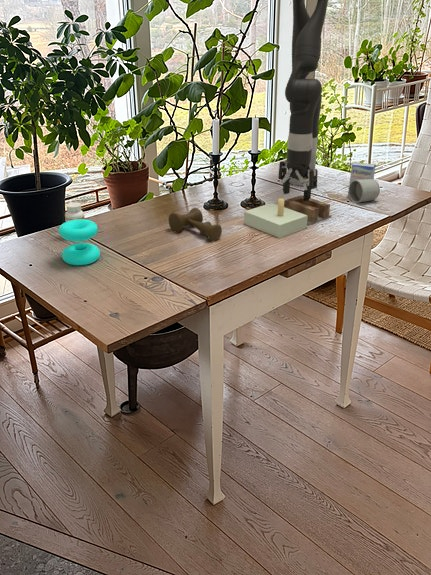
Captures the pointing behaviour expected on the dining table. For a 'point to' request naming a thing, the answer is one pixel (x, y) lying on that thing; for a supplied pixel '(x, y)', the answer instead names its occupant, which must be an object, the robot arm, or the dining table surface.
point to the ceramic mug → (363, 190)
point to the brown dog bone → (195, 224)
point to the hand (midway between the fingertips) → (296, 197)
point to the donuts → (79, 251)
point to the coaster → (318, 220)
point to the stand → (275, 219)
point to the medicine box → (362, 171)
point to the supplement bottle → (74, 212)
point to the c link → (308, 207)
